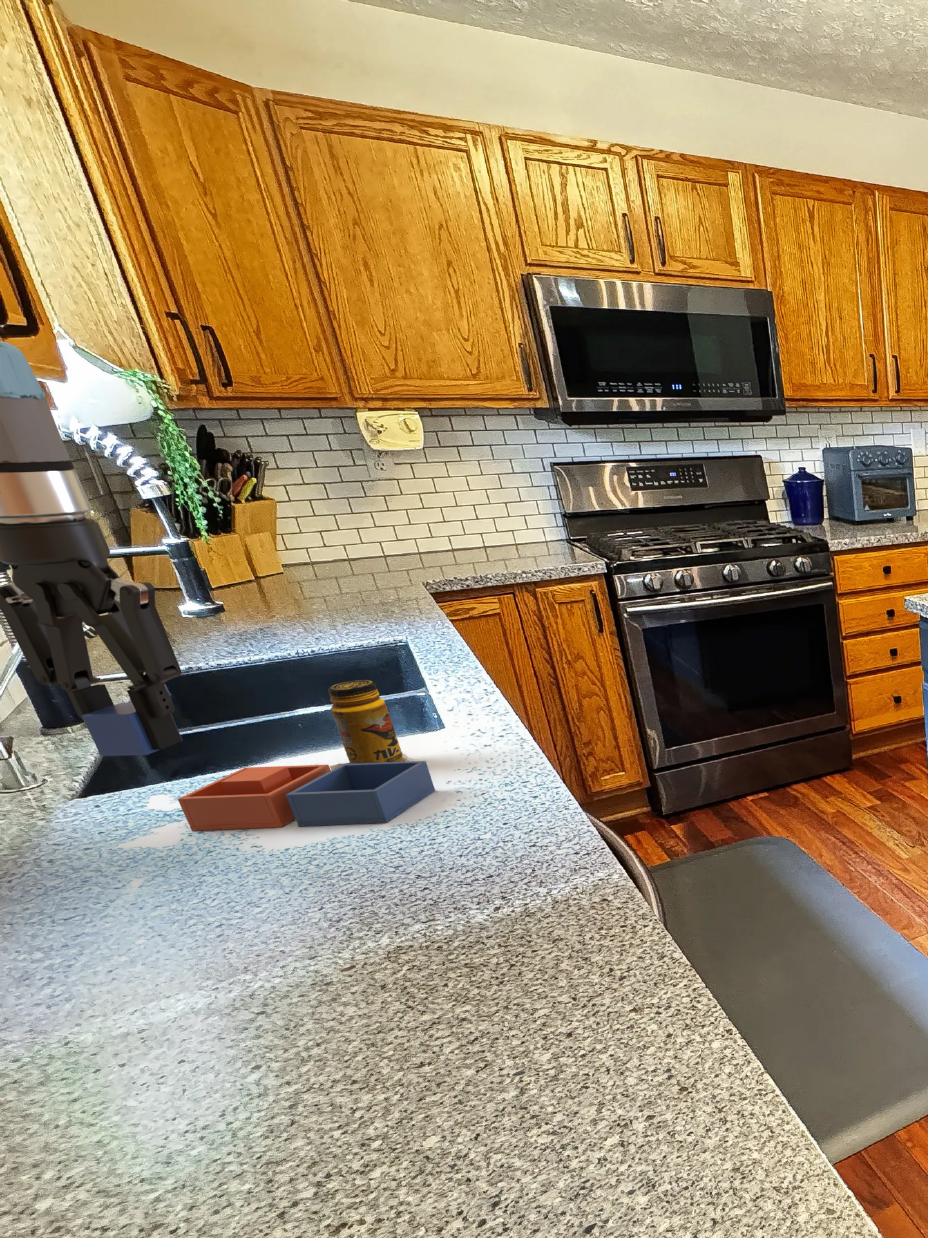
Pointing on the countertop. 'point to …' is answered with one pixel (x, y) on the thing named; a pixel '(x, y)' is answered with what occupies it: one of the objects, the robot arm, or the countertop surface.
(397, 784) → the blue bin
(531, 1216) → the countertop surface
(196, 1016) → the countertop surface
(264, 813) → the terracotta bin
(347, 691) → the condiment
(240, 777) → the terracotta block
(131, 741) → the blue block
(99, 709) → the robot arm
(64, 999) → the countertop surface
